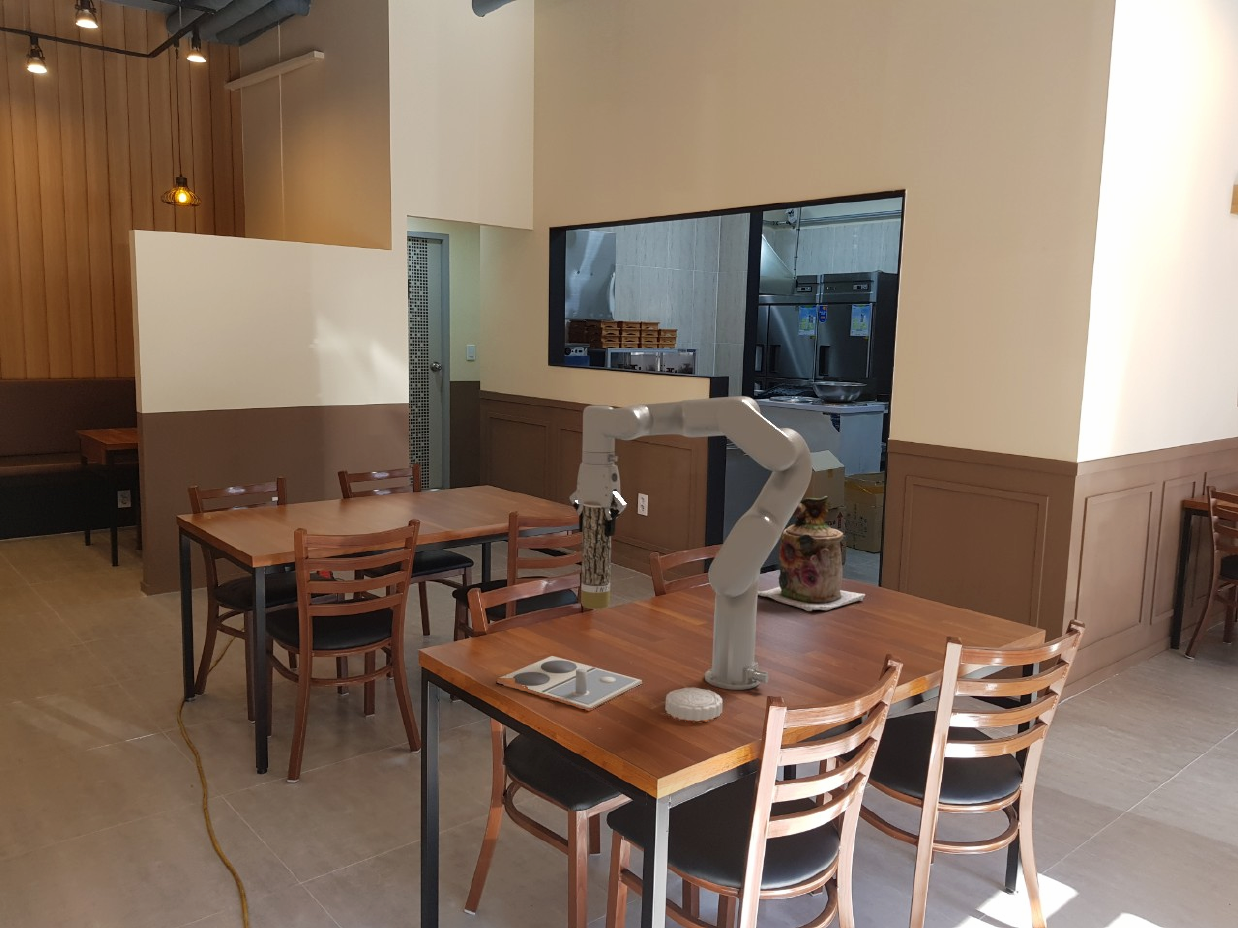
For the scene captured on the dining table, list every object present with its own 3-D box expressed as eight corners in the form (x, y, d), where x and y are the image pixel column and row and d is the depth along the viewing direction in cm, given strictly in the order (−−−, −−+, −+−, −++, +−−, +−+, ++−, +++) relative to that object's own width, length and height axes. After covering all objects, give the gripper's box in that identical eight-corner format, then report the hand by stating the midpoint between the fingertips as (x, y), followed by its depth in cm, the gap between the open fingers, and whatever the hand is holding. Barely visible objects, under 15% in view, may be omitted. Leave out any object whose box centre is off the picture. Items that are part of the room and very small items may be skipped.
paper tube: (575, 607, 228) (577, 503, 224) (590, 600, 234) (592, 499, 230) (600, 611, 224) (602, 506, 221) (614, 604, 230) (617, 502, 227)
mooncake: (654, 714, 201) (655, 698, 200) (682, 696, 211) (683, 681, 210) (705, 728, 194) (706, 711, 194) (732, 709, 204) (732, 693, 204)
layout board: (642, 684, 217) (642, 658, 216) (589, 711, 201) (590, 683, 200) (552, 659, 232) (552, 635, 231) (496, 683, 215) (496, 657, 214)
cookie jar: (803, 583, 309) (809, 485, 304) (867, 601, 290) (874, 497, 286) (751, 595, 293) (756, 492, 289) (815, 615, 274) (821, 505, 270)
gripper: (638, 460, 222) (636, 536, 225) (579, 453, 232) (577, 526, 235) (619, 463, 216) (617, 541, 219) (559, 456, 226) (558, 530, 229)
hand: (596, 532), depth 227 cm, fingers closed on paper tube, 6 cm apart
